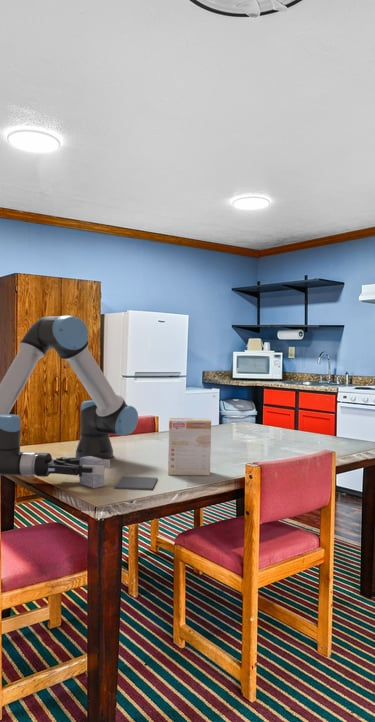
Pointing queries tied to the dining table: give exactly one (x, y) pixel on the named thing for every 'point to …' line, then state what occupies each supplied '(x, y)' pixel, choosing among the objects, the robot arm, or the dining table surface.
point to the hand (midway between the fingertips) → (106, 466)
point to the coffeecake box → (189, 446)
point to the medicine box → (92, 479)
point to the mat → (136, 483)
